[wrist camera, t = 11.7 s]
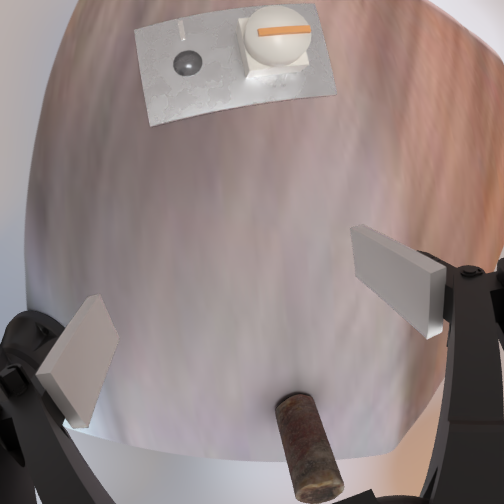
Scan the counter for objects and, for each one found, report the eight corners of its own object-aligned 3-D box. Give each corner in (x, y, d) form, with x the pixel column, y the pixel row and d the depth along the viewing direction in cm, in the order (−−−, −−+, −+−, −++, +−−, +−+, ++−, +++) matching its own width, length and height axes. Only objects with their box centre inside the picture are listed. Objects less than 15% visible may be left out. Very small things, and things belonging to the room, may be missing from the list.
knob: (245, 78, 35) (253, 62, 27) (235, 30, 32) (241, 6, 25) (300, 71, 35) (319, 56, 28) (289, 24, 33) (305, 2, 26)
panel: (151, 127, 36) (144, 124, 32) (136, 32, 32) (128, 21, 28) (333, 95, 38) (346, 90, 34) (312, 6, 33) (321, -6, 29)
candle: (288, 424, 54) (312, 509, 35) (264, 407, 52) (286, 500, 33) (320, 403, 53) (356, 487, 34) (299, 385, 51) (333, 476, 32)
